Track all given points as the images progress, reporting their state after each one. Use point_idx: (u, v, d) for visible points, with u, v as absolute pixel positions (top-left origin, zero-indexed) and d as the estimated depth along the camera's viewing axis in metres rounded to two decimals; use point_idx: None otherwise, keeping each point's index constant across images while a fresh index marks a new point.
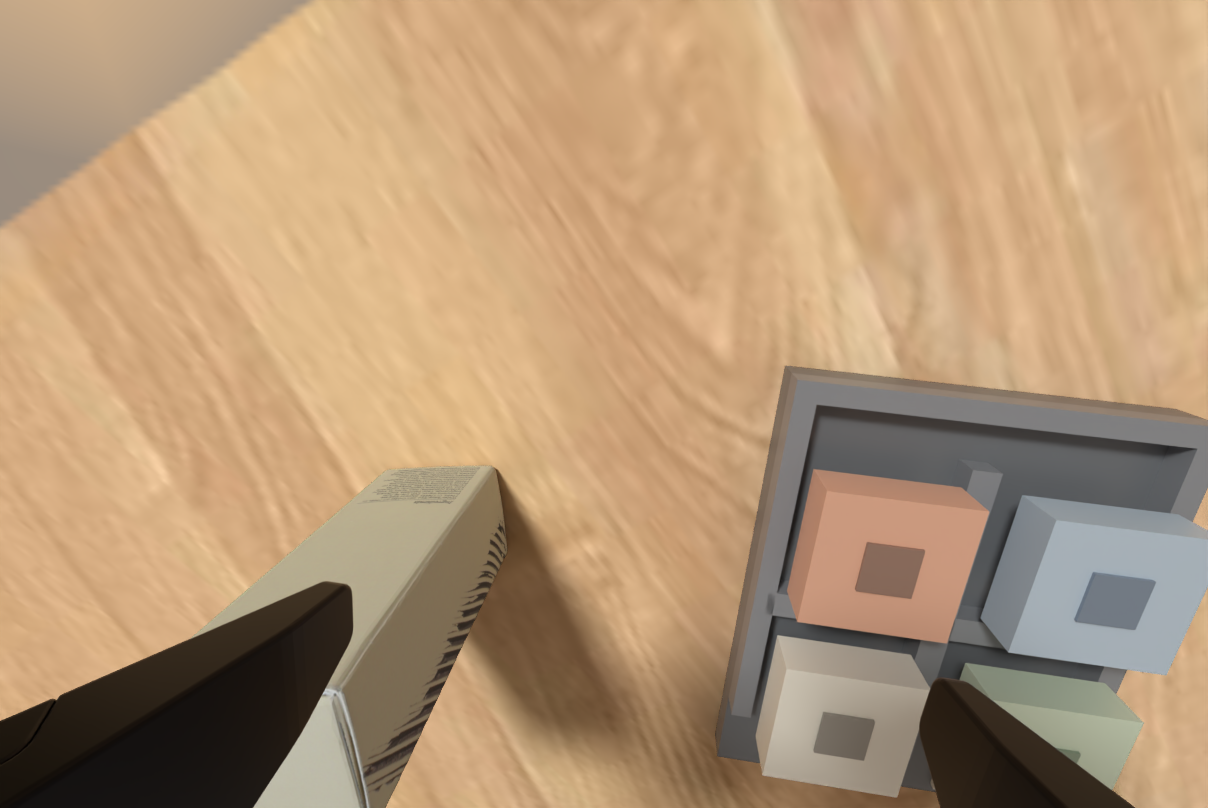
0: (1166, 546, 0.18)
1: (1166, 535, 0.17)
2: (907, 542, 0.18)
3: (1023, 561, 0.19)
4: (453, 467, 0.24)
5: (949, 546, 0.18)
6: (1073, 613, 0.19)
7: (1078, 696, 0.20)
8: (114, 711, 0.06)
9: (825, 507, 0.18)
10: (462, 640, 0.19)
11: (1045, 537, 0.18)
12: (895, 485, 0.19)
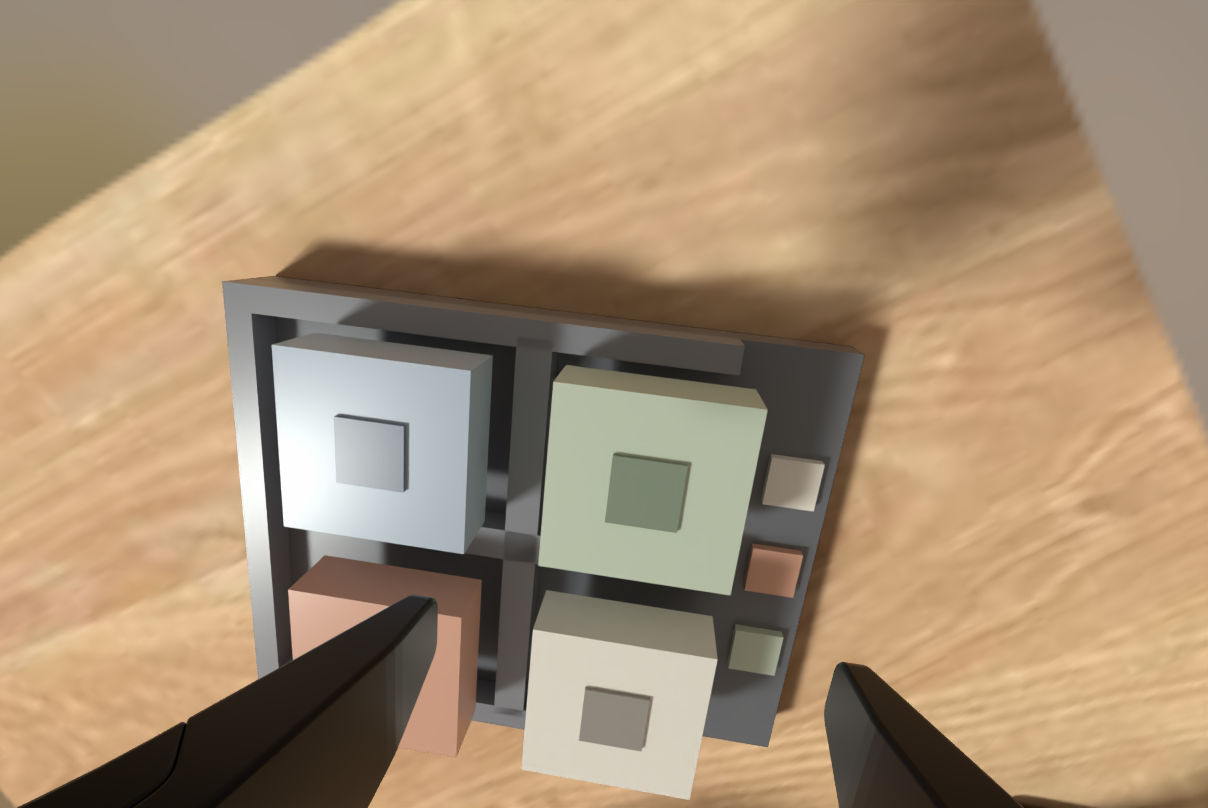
0: (291, 410, 0.14)
1: (276, 414, 0.14)
2: None
3: None
4: None
5: (335, 623, 0.16)
6: (396, 492, 0.15)
7: None
8: (248, 735, 0.06)
9: None
10: None
11: (313, 526, 0.16)
12: None
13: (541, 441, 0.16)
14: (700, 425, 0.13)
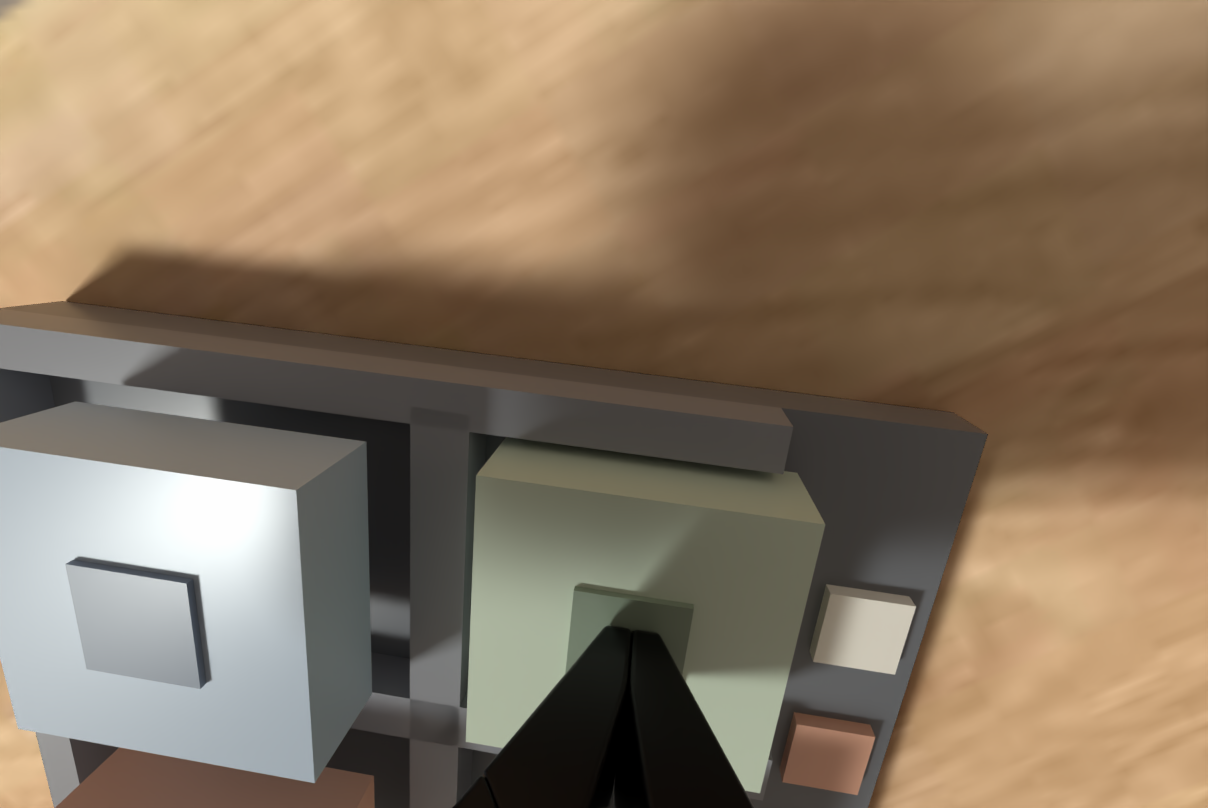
0: None
1: None
2: None
3: None
4: None
5: None
6: (192, 685, 0.09)
7: None
8: (555, 791, 0.05)
9: None
10: None
11: (72, 726, 0.09)
12: None
13: (459, 570, 0.10)
14: (714, 546, 0.08)
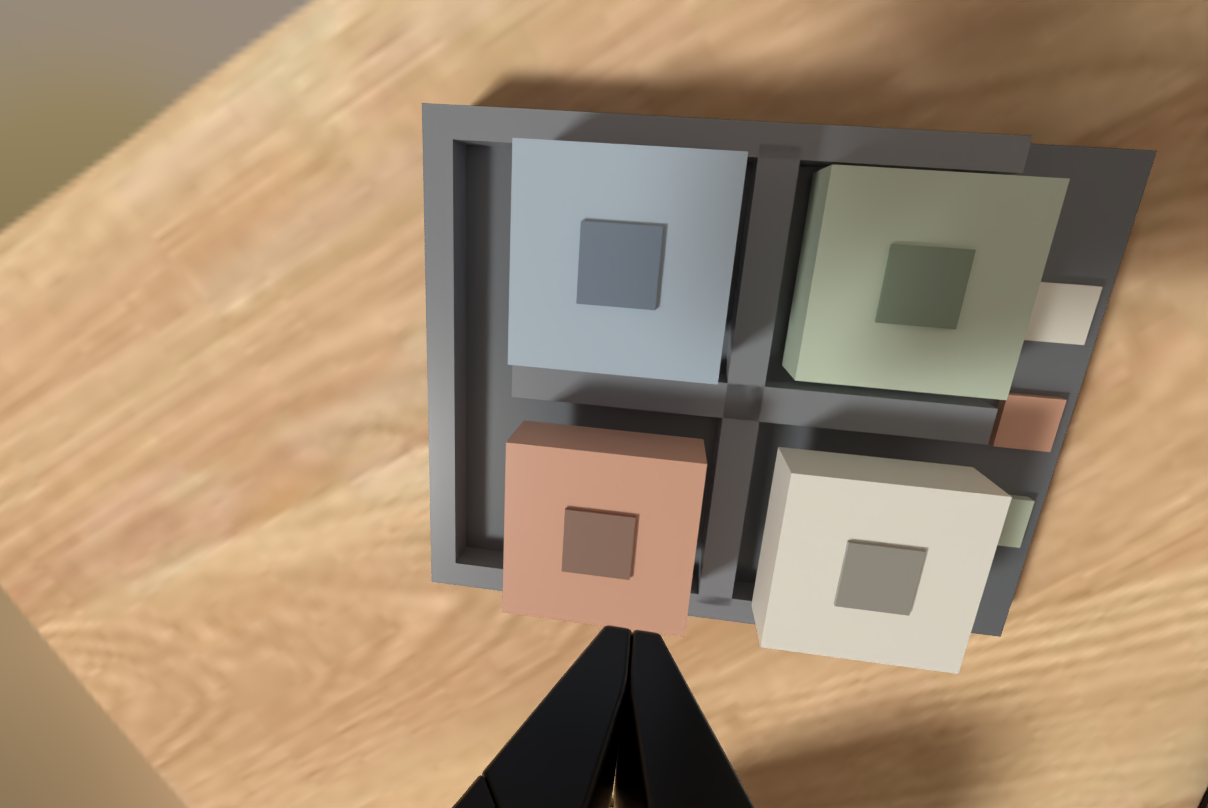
0: (528, 219, 0.13)
1: (511, 225, 0.13)
2: (557, 527, 0.15)
3: None
4: None
5: (558, 480, 0.14)
6: (644, 313, 0.13)
7: (811, 237, 0.14)
8: (555, 790, 0.05)
9: (523, 612, 0.16)
10: None
11: (539, 365, 0.14)
12: None
13: (779, 271, 0.15)
14: (992, 203, 0.13)
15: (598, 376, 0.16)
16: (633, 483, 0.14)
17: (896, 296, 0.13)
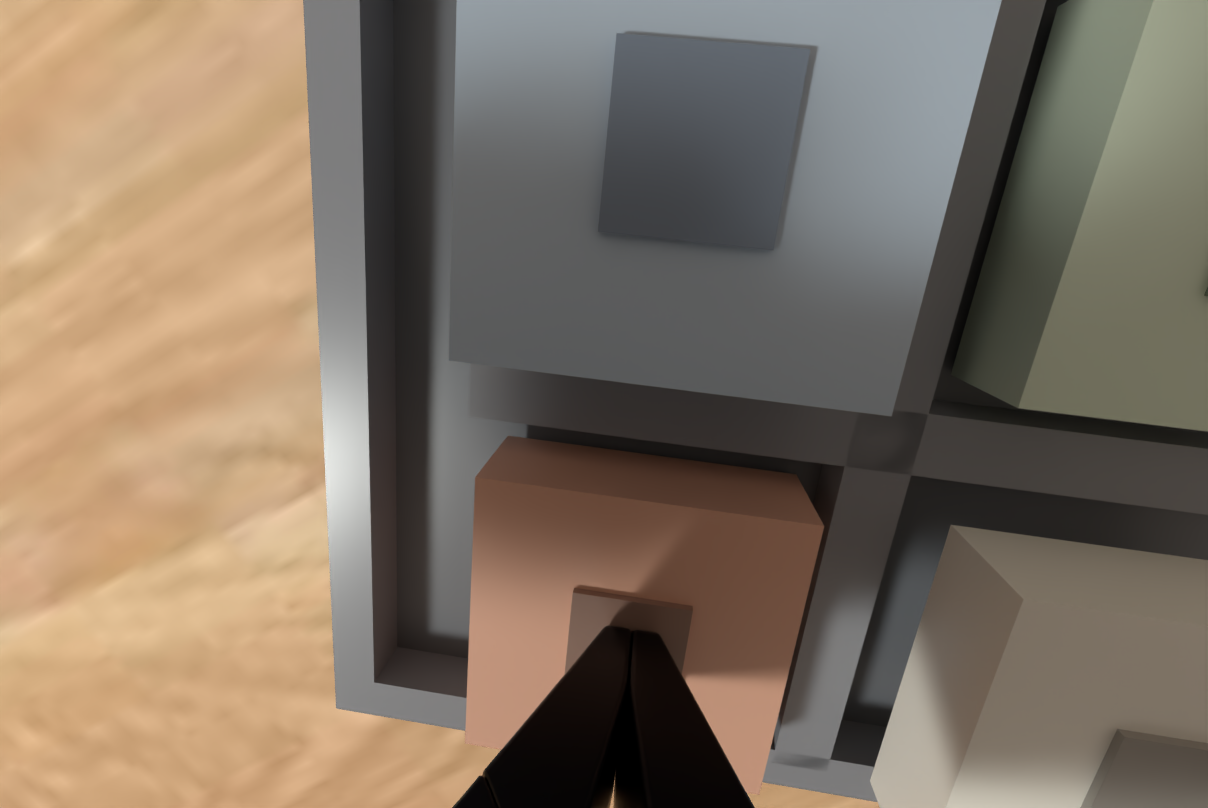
0: (496, 31, 0.06)
1: (457, 45, 0.06)
2: (558, 618, 0.09)
3: None
4: None
5: (563, 542, 0.08)
6: (747, 257, 0.06)
7: (1065, 123, 0.07)
8: (555, 790, 0.05)
9: (498, 745, 0.10)
10: None
11: (514, 364, 0.07)
12: None
13: (982, 197, 0.08)
14: None
15: (624, 385, 0.09)
16: (692, 553, 0.08)
17: None
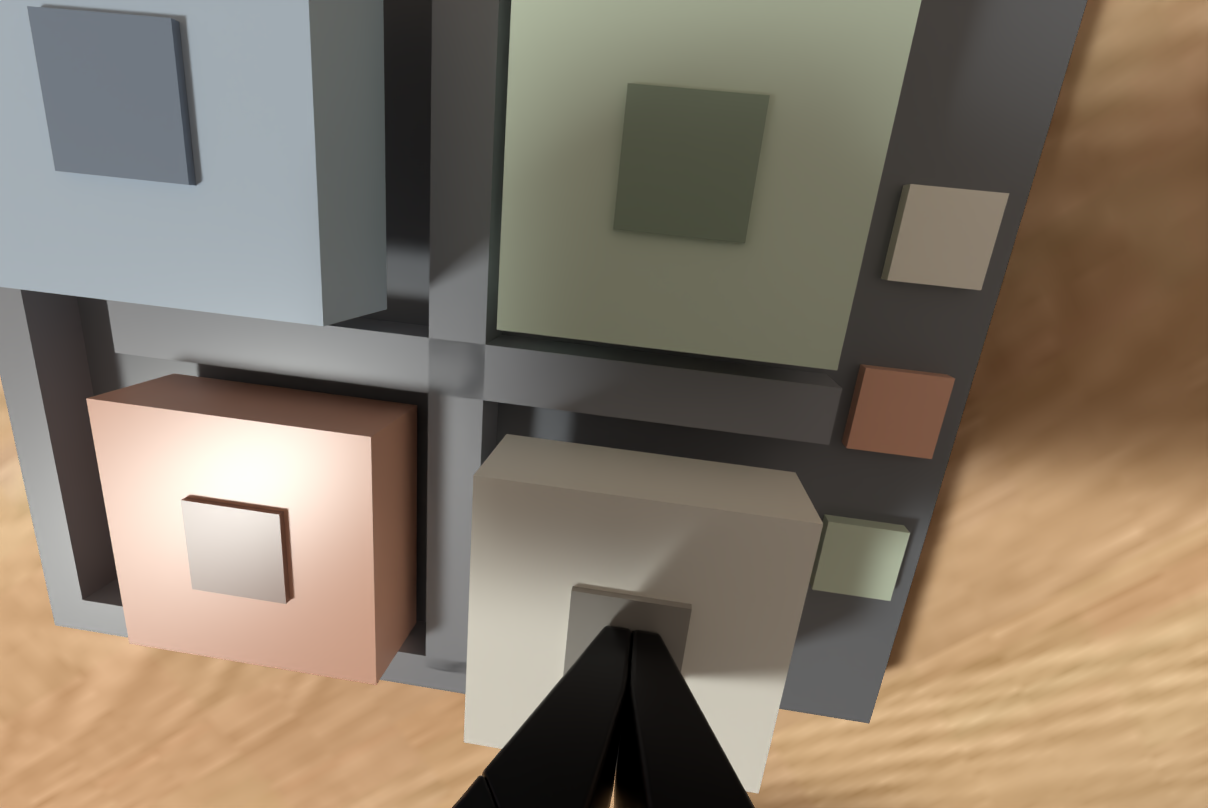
0: None
1: None
2: (178, 525, 0.10)
3: None
4: None
5: (168, 456, 0.10)
6: (180, 191, 0.07)
7: None
8: (555, 790, 0.05)
9: (156, 645, 0.11)
10: None
11: (41, 289, 0.08)
12: None
13: (487, 152, 0.09)
14: (795, 7, 0.07)
15: (235, 322, 0.10)
16: (272, 463, 0.10)
17: (642, 182, 0.08)
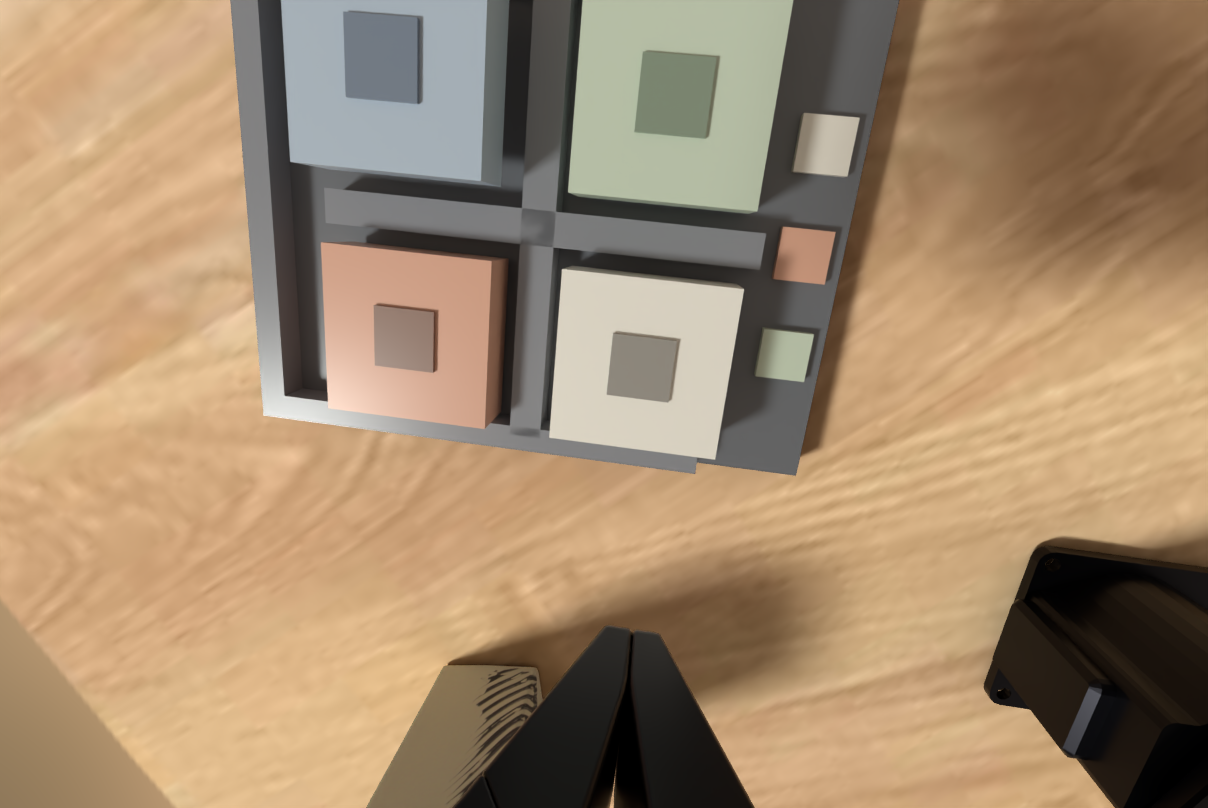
0: (297, 11, 0.14)
1: (282, 17, 0.14)
2: (369, 323, 0.17)
3: (376, 172, 0.15)
4: None
5: (367, 278, 0.16)
6: (409, 108, 0.14)
7: None
8: (554, 790, 0.05)
9: (346, 408, 0.18)
10: None
11: (322, 165, 0.15)
12: None
13: (561, 94, 0.16)
14: (729, 11, 0.14)
15: (403, 201, 0.17)
16: (431, 280, 0.16)
17: (650, 104, 0.14)
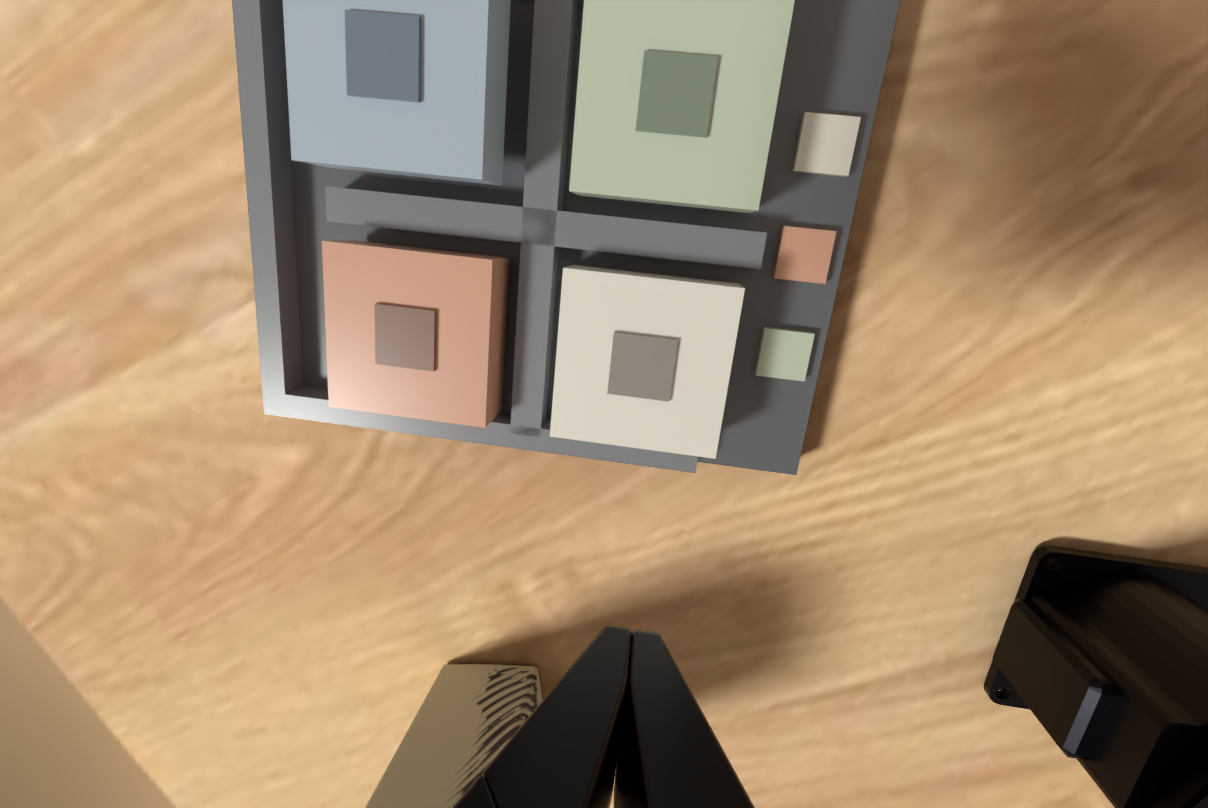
0: (299, 9, 0.14)
1: (284, 15, 0.14)
2: (370, 322, 0.17)
3: (378, 170, 0.15)
4: None
5: (368, 276, 0.16)
6: (411, 106, 0.14)
7: None
8: (554, 790, 0.05)
9: (346, 407, 0.18)
10: None
11: (323, 163, 0.15)
12: None
13: (562, 93, 0.16)
14: (730, 10, 0.14)
15: (404, 200, 0.17)
16: (432, 279, 0.16)
17: (651, 103, 0.14)
